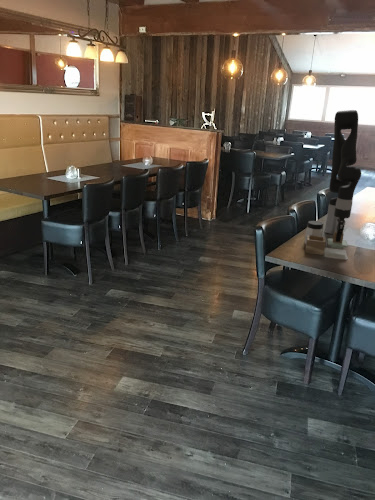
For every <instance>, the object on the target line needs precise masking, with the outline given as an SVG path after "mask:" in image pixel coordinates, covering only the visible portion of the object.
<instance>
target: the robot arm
mask: <svg viewBox="0 0 375 500" xmlns="http://www.w3.org/2000/svg"><path fill="white" fill-rule="evenodd" d="M333 126H334V129H333V130H334V132H333V136H334V137H333V148H332V155H331V156H332V157H331V160H332V161H331V173H330V179H329V180H330V181H329V186H328V187H329V188H328V189H329V192H331V193H334V194H337V197H331V198H330V199H329V203H328V208H327V209H328V210H327V213H326V215H327V216H326V222H325V228H324V232H325V233H326V234H329V235H334V231H337V233H336V234H337V235H336V242H340V240H341V235H342V234H343V233H344V230H345V225H346V219H349V218H350V217H351V214H352V206H353V199H354V194H355V190H356V187H357V186H358V183H359V182H360V179H361V177H362V170H361V168H360V167H358V166H357V167H356V166H353V165H355V164H357V140H358V128H359V113H358V111H357V110H355V109H351V110H350V109H349V110H339V111H337V112H336V113H335V115H334V125H333ZM342 130H343V131H344V130H350V133H349V134H348V137H347V138H345V137H344V136H343V133H342Z"/></svg>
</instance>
